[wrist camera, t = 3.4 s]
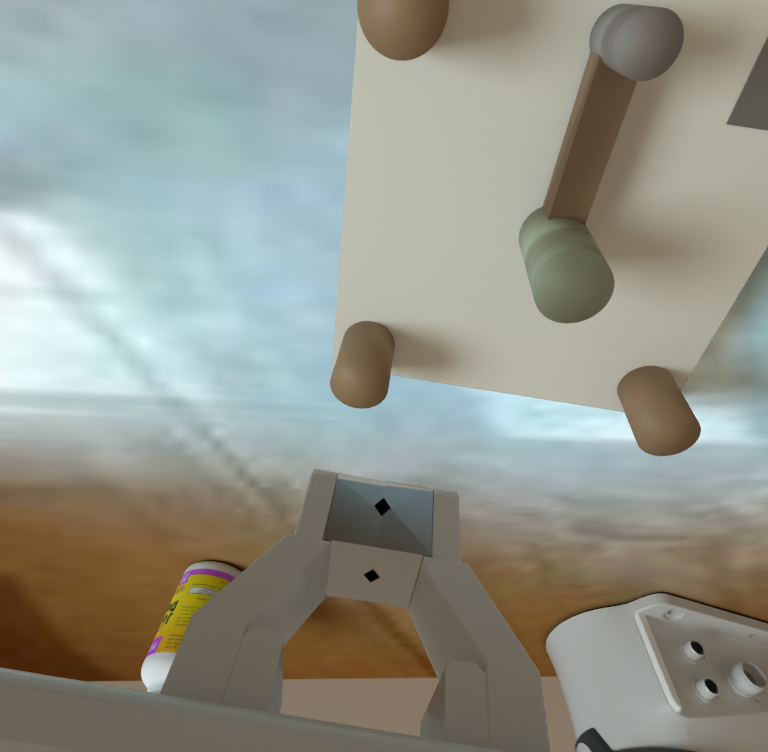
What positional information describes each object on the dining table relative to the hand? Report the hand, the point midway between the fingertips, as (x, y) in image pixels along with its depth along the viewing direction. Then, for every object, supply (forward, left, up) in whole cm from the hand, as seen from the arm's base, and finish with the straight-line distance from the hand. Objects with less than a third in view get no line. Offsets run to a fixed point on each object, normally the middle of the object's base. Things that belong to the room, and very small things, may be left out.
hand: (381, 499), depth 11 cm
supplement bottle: (+14, +40, -20) cm, 47 cm away
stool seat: (-6, 0, -20) cm, 21 cm away
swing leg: (-6, -4, -17) cm, 19 cm away
